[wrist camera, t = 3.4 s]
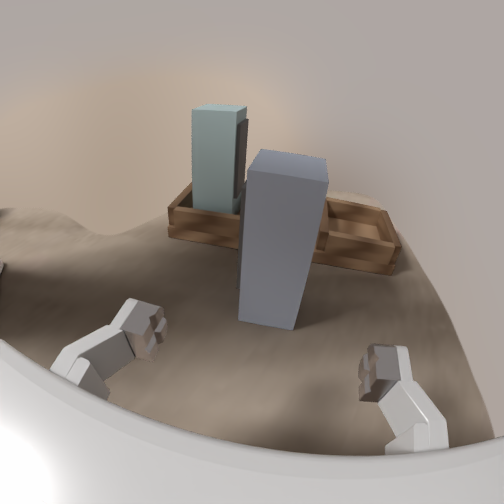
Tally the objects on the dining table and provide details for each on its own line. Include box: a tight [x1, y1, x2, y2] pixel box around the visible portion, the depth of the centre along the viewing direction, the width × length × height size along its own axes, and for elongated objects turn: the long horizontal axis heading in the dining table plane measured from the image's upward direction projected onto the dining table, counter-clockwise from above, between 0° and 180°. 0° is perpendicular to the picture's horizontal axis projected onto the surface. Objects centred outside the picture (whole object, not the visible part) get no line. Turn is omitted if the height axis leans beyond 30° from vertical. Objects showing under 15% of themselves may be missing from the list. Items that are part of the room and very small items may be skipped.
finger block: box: [236, 149, 329, 330], centre depth 23 cm, size 5×5×14 cm
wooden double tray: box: [168, 182, 402, 276], centre depth 36 cm, size 28×10×4 cm, turn 79°
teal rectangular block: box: [192, 104, 248, 215], centre depth 33 cm, size 5×5×14 cm
